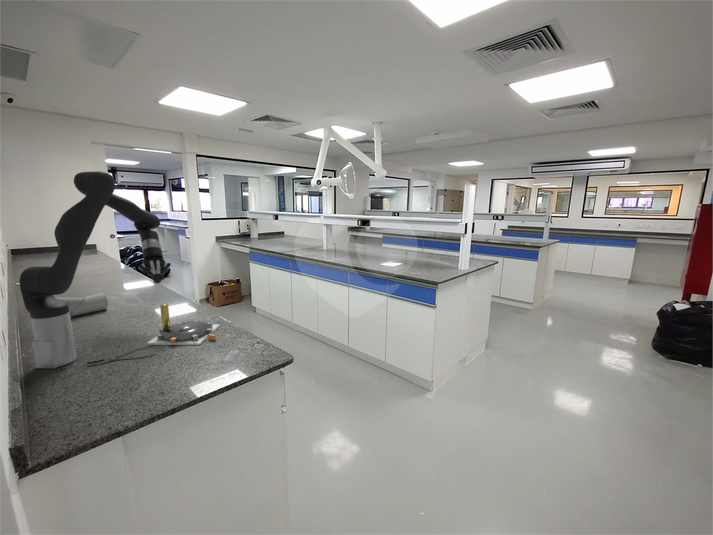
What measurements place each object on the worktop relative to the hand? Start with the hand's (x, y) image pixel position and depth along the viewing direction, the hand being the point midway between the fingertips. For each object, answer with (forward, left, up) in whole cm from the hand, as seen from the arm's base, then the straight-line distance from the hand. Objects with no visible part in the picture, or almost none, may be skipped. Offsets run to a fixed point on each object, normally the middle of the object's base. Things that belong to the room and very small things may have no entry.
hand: (157, 282), depth 136 cm
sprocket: (-11, -17, -19) cm, 27 cm away
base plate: (-11, -19, -20) cm, 29 cm away
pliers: (-33, -6, -20) cm, 39 cm away
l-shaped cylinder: (+14, +49, -20) cm, 55 cm away
